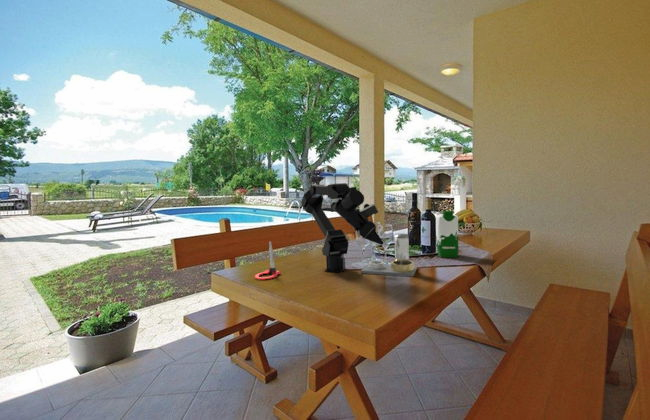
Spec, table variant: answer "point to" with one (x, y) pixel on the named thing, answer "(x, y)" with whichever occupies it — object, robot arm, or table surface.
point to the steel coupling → (401, 249)
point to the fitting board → (387, 271)
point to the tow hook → (271, 269)
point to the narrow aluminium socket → (376, 265)
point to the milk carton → (447, 234)
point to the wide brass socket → (402, 267)
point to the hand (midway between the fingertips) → (380, 241)
